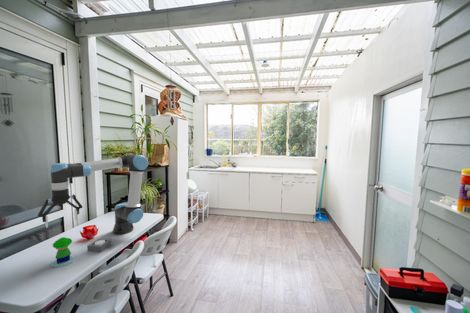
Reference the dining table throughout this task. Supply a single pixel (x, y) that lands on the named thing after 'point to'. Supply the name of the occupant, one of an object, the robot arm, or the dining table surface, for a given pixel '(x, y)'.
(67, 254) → the toy
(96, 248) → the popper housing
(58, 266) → the pad
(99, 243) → the dome
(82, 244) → the dining table surface
